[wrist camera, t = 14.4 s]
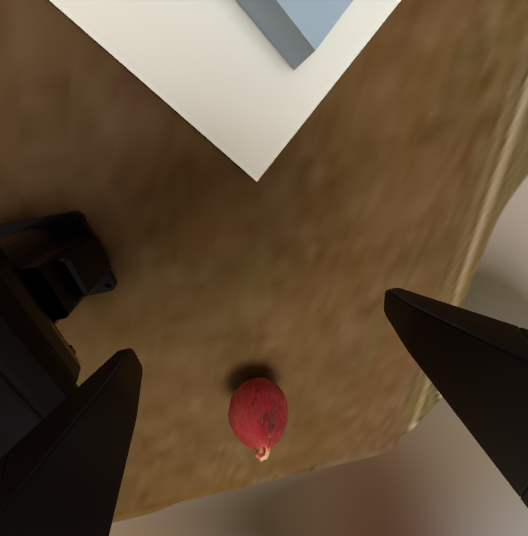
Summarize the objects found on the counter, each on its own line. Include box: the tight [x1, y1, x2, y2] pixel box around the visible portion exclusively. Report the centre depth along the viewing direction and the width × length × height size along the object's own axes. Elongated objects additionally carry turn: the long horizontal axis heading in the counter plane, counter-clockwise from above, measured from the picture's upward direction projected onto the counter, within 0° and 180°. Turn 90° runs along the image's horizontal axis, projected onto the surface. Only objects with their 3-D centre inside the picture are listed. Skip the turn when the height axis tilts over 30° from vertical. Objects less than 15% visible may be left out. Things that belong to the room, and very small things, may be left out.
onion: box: [228, 378, 288, 462], centre depth 25 cm, size 6×6×8 cm
